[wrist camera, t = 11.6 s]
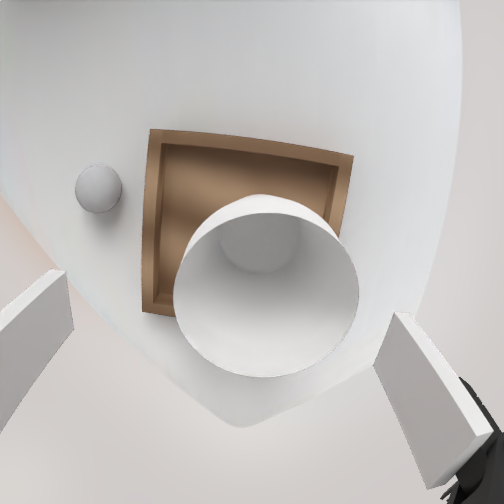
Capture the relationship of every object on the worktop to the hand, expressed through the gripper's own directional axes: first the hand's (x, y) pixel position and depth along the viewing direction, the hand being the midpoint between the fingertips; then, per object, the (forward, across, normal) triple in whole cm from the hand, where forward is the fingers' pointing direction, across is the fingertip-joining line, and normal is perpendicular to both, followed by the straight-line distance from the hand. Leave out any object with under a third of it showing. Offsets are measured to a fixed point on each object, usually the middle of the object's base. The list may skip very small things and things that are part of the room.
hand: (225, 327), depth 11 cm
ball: (+16, -12, +2) cm, 20 cm away
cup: (+15, +2, -1) cm, 15 cm away
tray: (+16, 0, -1) cm, 16 cm away
